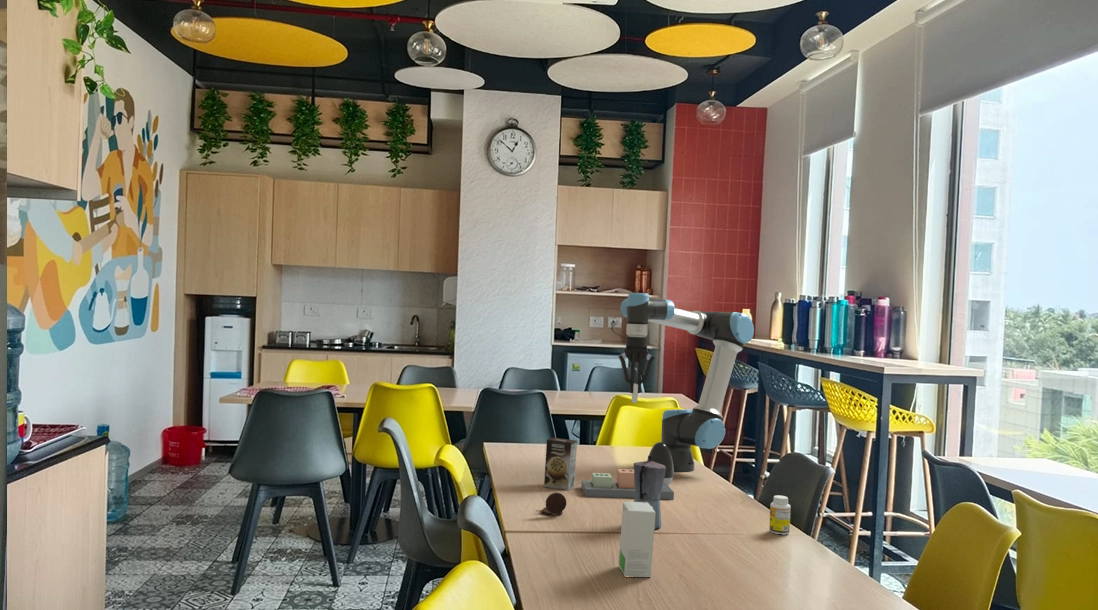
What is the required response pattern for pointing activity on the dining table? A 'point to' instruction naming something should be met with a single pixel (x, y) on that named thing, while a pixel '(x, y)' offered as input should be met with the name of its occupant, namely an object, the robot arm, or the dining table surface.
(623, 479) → the terracotta key
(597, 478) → the sage key
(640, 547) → the skincare box
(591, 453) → the dining table surface
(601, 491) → the keypad board
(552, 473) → the coffee box
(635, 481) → the moka pot
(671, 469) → the pump dispenser
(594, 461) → the dining table surface
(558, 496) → the compass
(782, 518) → the supplement bottle
